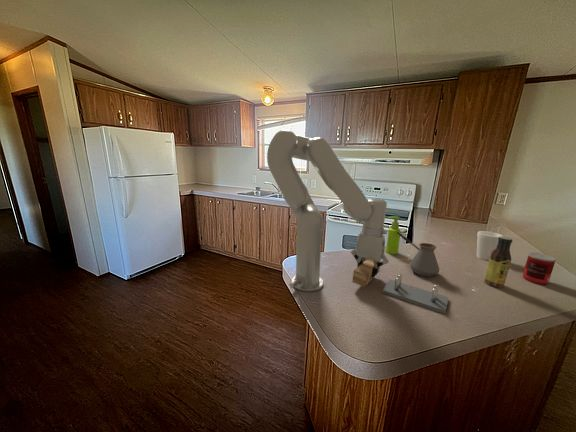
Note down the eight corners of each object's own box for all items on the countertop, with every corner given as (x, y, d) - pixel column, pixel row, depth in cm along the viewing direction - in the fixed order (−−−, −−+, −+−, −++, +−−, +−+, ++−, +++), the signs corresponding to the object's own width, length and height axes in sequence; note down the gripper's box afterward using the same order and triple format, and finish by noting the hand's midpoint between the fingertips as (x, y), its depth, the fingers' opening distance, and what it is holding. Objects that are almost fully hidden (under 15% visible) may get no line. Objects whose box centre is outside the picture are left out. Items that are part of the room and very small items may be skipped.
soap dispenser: (382, 250, 128) (386, 215, 124) (394, 250, 129) (398, 215, 124) (387, 254, 123) (391, 218, 118) (399, 254, 123) (404, 218, 118)
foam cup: (498, 263, 114) (504, 238, 111) (474, 259, 118) (480, 235, 115) (493, 256, 122) (499, 232, 119) (471, 252, 126) (476, 230, 123)
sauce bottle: (499, 289, 91) (511, 242, 86) (480, 282, 96) (491, 236, 91) (507, 285, 94) (519, 239, 89) (488, 278, 99) (499, 234, 94)
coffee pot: (443, 274, 102) (449, 242, 99) (429, 281, 97) (435, 247, 93) (399, 257, 120) (403, 229, 116) (384, 262, 114) (388, 233, 110)
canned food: (540, 277, 101) (547, 253, 98) (553, 286, 93) (561, 261, 91) (517, 274, 103) (524, 251, 100) (529, 283, 96) (536, 258, 93)
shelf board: (364, 286, 87) (366, 274, 86) (352, 282, 90) (353, 270, 89) (378, 272, 99) (380, 261, 98) (367, 268, 102) (368, 257, 101)
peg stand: (445, 314, 76) (448, 298, 75) (382, 292, 88) (384, 278, 87) (447, 299, 84) (450, 285, 83) (389, 282, 96) (391, 268, 94)
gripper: (398, 233, 88) (391, 277, 92) (354, 224, 98) (350, 264, 102) (393, 238, 82) (385, 284, 86) (347, 228, 92) (343, 270, 96)
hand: (366, 273), depth 94 cm, fingers closed on shelf board, 5 cm apart
